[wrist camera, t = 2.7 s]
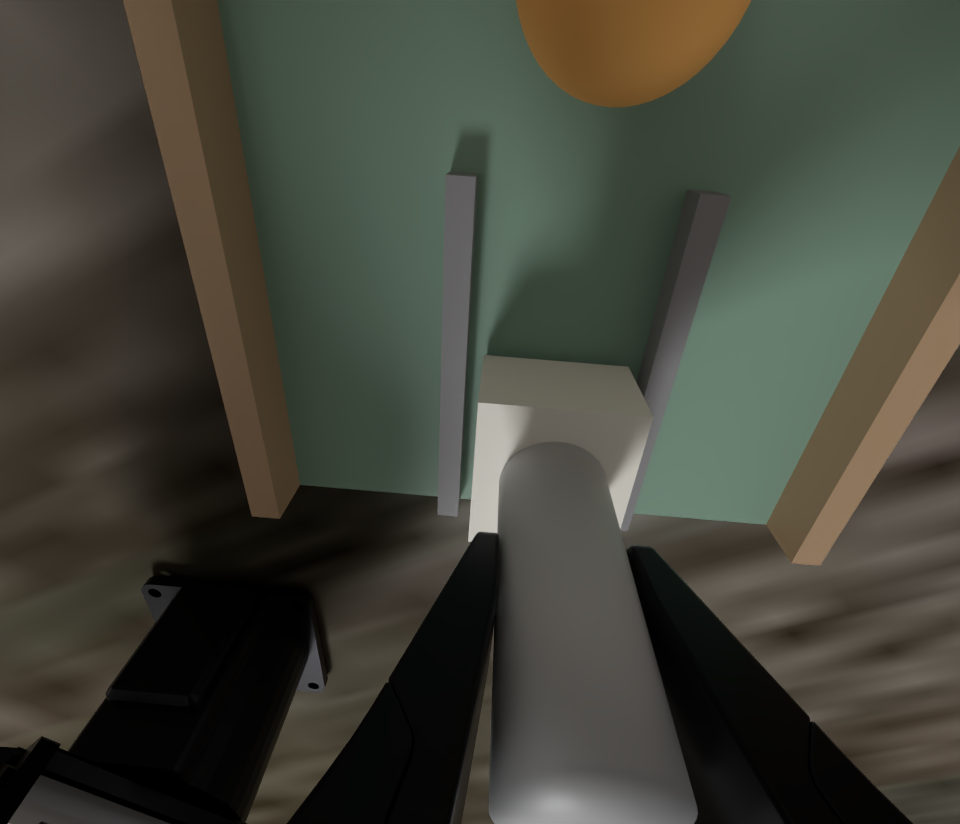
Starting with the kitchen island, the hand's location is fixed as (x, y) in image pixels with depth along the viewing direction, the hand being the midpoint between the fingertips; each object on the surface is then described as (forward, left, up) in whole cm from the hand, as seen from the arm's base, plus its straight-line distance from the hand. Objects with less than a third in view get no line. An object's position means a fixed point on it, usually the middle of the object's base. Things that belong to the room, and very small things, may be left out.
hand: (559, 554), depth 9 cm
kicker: (0, 0, -5) cm, 5 cm away
